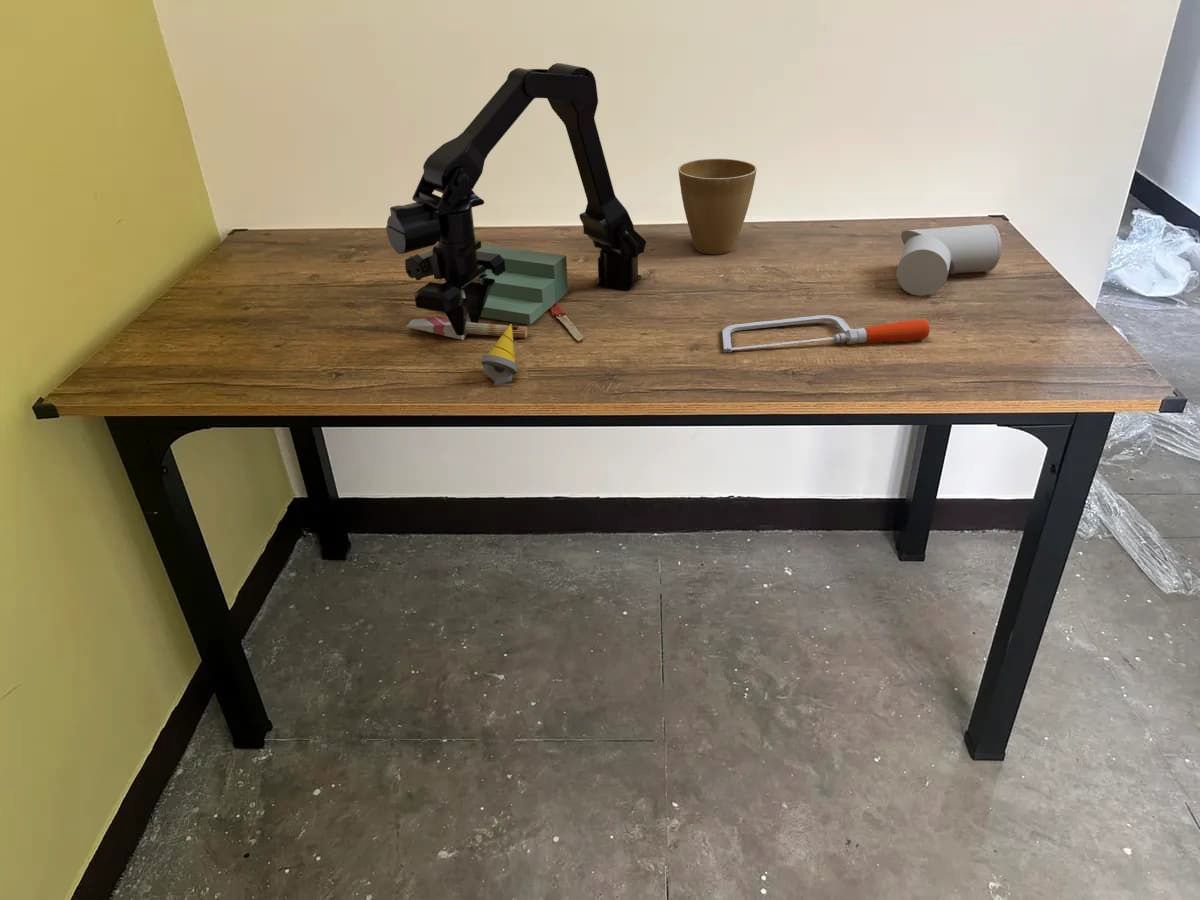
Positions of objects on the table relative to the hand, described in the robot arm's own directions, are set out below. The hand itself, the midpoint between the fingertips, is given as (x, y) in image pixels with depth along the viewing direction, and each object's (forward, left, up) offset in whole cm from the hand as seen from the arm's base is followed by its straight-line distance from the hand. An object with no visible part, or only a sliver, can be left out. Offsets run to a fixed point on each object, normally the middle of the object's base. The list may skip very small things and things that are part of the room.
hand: (467, 329), depth 147 cm
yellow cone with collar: (-12, +11, -1) cm, 16 cm away
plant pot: (-26, -52, -1) cm, 59 cm away
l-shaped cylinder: (-70, -51, -1) cm, 87 cm away
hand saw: (-54, -19, -1) cm, 57 cm away
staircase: (+1, -14, -1) cm, 15 cm away
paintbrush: (0, 0, -1) cm, 1 cm away
